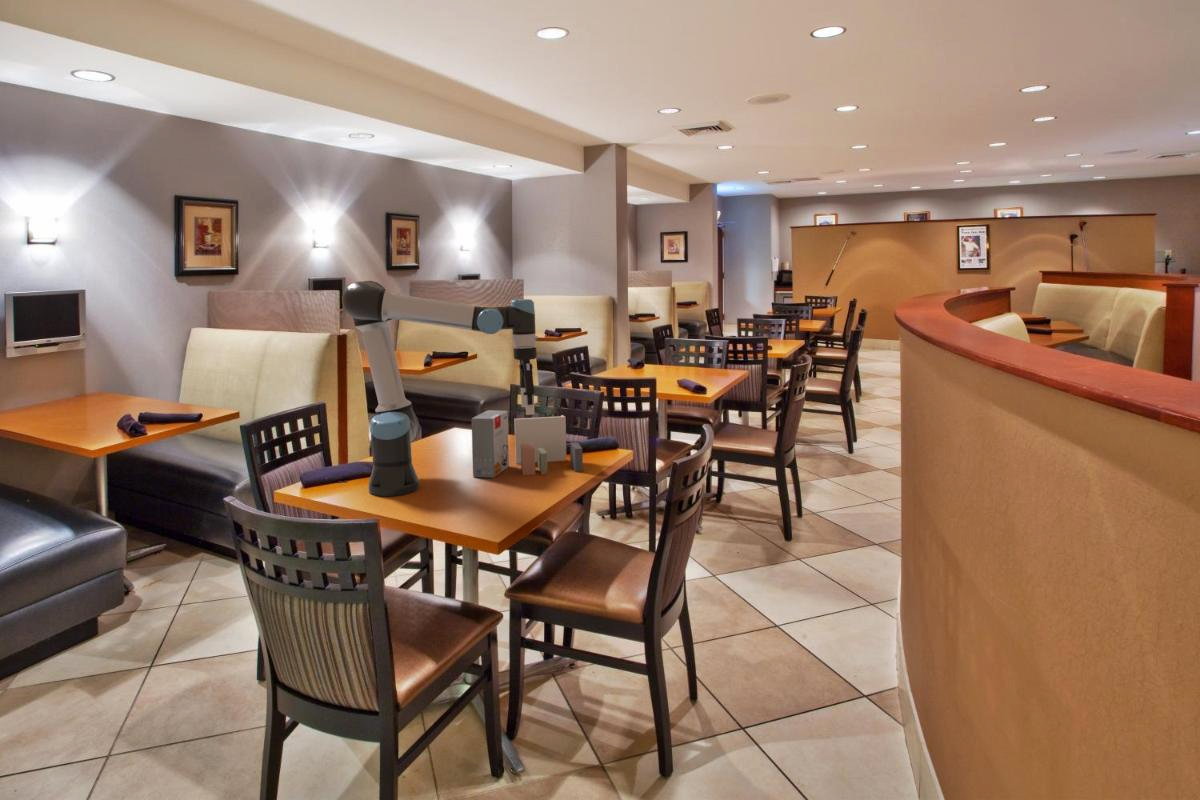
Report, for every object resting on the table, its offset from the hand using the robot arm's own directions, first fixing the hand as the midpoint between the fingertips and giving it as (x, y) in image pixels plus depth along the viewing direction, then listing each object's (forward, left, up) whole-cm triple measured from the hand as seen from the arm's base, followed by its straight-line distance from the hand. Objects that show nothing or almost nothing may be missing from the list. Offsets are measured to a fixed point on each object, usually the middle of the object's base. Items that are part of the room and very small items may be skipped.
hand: (527, 410), depth 234 cm
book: (-1, 0, -21) cm, 21 cm away
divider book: (+4, +1, -21) cm, 22 cm away
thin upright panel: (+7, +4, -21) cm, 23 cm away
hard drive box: (-13, +4, -21) cm, 25 cm away
